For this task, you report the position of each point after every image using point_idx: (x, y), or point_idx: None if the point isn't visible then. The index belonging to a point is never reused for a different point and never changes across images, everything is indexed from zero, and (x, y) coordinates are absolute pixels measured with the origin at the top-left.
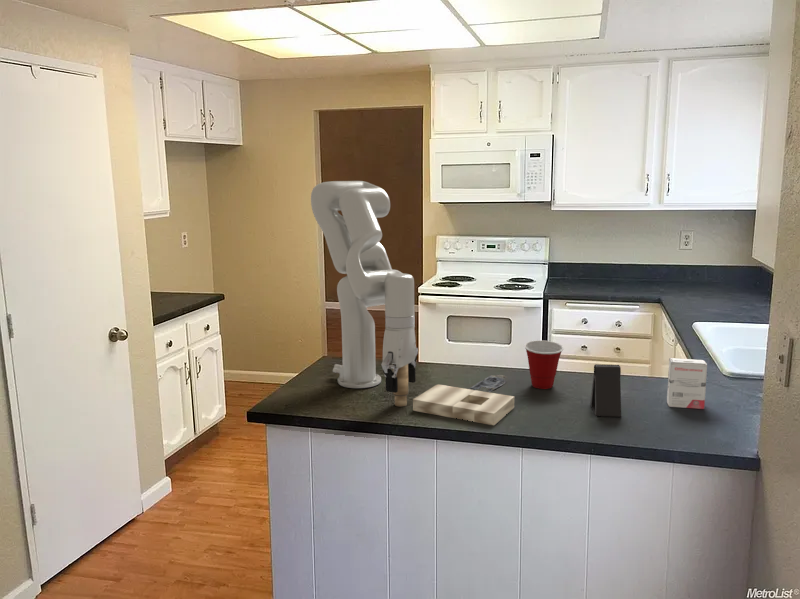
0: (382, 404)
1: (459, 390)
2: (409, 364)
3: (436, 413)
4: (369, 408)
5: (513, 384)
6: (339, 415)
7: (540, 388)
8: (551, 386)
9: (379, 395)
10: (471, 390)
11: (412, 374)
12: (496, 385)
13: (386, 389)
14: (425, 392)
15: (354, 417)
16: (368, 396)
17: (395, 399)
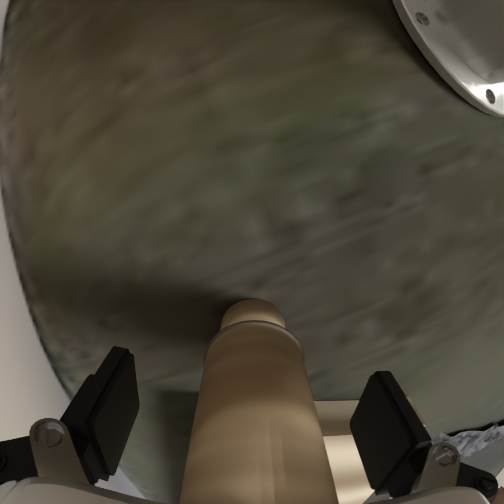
0: (218, 238)
1: (355, 488)
2: (410, 488)
3: None
4: (133, 199)
5: (467, 463)
6: (22, 123)
7: None
8: None
9: (358, 161)
10: (359, 500)
11: (364, 456)
12: (462, 456)
13: (112, 353)
14: None
15: (24, 195)
16: (320, 105)
17: (224, 327)
